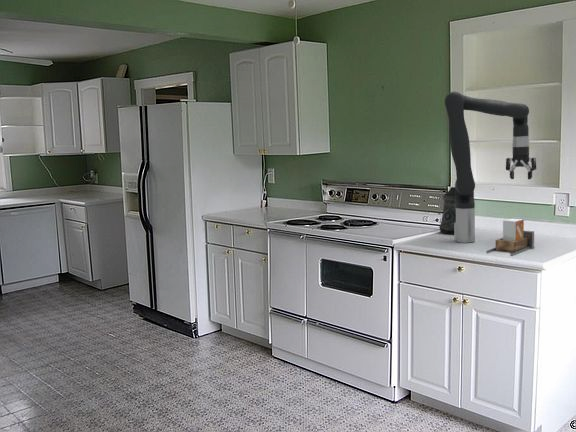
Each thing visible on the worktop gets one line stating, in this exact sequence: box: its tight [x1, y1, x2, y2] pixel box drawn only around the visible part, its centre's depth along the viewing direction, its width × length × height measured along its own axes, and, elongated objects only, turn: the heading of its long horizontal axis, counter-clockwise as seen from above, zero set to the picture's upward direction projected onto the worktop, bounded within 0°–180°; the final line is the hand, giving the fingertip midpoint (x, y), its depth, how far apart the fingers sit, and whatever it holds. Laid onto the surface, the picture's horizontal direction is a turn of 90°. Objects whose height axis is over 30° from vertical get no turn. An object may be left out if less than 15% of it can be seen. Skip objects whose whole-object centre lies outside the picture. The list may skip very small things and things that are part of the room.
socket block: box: [495, 237, 528, 253], centre depth 273 cm, size 10×12×5 cm
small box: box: [502, 217, 525, 241], centre depth 273 cm, size 8×6×13 cm
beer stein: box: [438, 186, 456, 236], centre depth 323 cm, size 16×19×25 cm
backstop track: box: [485, 230, 535, 257], centre depth 272 cm, size 14×21×8 cm, turn 135°
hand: (520, 179), depth 287 cm, fingers open, 8 cm apart
